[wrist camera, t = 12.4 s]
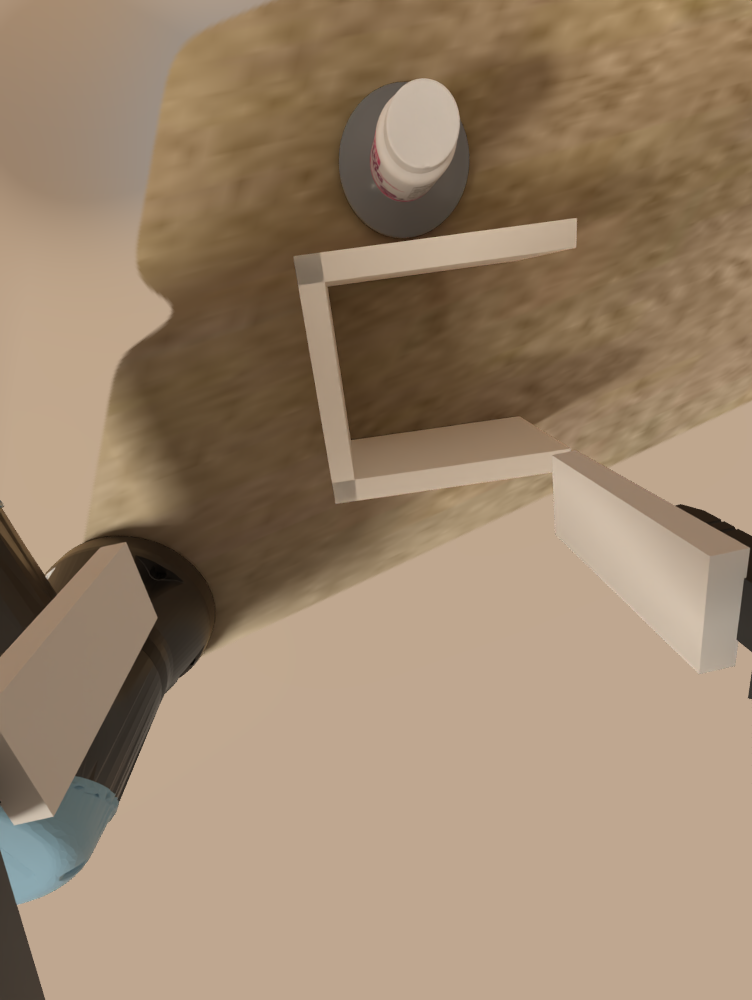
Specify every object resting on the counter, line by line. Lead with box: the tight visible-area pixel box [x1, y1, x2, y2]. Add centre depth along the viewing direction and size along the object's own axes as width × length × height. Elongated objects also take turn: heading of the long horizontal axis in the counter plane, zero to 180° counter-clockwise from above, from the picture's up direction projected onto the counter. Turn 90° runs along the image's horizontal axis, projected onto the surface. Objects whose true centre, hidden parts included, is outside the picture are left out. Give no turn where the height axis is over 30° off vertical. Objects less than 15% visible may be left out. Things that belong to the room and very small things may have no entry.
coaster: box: [339, 82, 469, 239], centre depth 34 cm, size 9×9×1 cm
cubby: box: [293, 218, 577, 504], centre depth 35 cm, size 16×15×10 cm
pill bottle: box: [370, 78, 460, 202], centre depth 30 cm, size 5×5×8 cm
